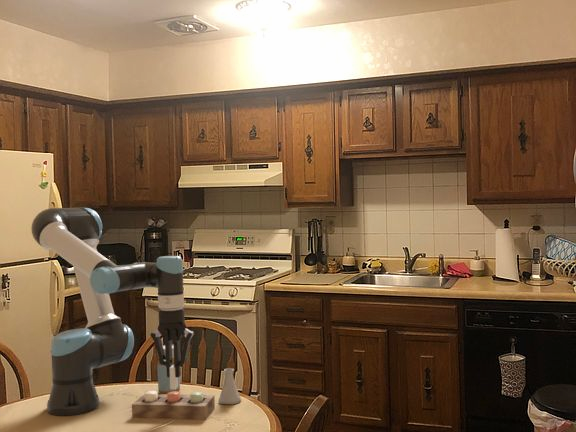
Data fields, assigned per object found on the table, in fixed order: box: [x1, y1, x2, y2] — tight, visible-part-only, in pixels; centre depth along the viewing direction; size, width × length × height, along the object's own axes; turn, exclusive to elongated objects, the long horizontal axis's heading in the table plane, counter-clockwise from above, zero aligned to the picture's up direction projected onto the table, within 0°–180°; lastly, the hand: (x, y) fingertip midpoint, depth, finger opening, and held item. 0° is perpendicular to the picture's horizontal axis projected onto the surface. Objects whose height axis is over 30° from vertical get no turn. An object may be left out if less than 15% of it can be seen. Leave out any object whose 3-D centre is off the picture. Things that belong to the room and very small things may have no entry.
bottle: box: [157, 344, 181, 394], centre depth 204 cm, size 7×7×15 cm
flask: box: [218, 368, 242, 405], centre depth 193 cm, size 7×7×10 cm
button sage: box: [189, 391, 204, 403], centre depth 182 cm, size 4×4×4 cm
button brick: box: [167, 391, 181, 402], centre depth 183 cm, size 4×4×4 cm
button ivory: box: [143, 390, 159, 402], centre depth 184 cm, size 4×4×4 cm
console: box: [131, 393, 216, 421], centre depth 183 cm, size 22×10×4 cm, turn 82°
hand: (174, 388), depth 183 cm, fingers closed
